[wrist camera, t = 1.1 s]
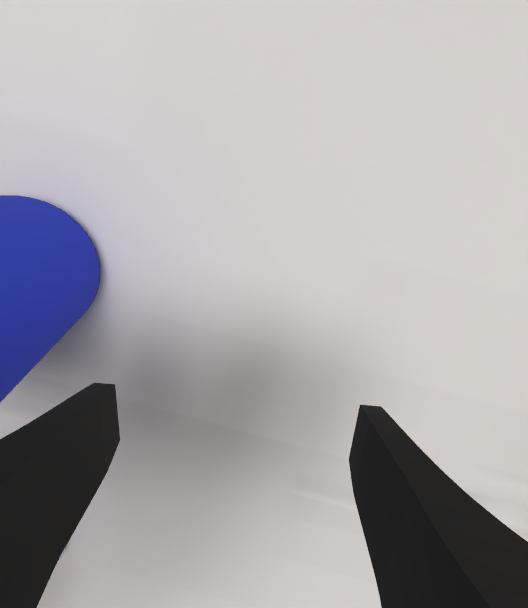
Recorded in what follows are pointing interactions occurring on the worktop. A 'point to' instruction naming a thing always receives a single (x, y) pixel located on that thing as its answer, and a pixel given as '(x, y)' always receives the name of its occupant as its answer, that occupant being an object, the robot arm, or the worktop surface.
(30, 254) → the mug
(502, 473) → the worktop surface
